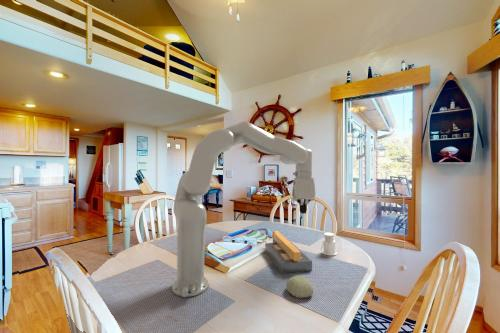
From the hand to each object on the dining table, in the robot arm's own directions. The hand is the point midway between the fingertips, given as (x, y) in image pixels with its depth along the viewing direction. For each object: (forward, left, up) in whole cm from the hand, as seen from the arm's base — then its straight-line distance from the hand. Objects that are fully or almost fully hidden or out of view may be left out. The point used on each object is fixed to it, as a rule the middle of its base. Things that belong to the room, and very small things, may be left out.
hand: (303, 212), depth 106 cm
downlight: (+4, -17, -22) cm, 28 cm away
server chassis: (+3, +8, -22) cm, 24 cm away
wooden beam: (+3, +8, -17) cm, 19 cm away
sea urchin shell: (-26, +13, -22) cm, 37 cm away
